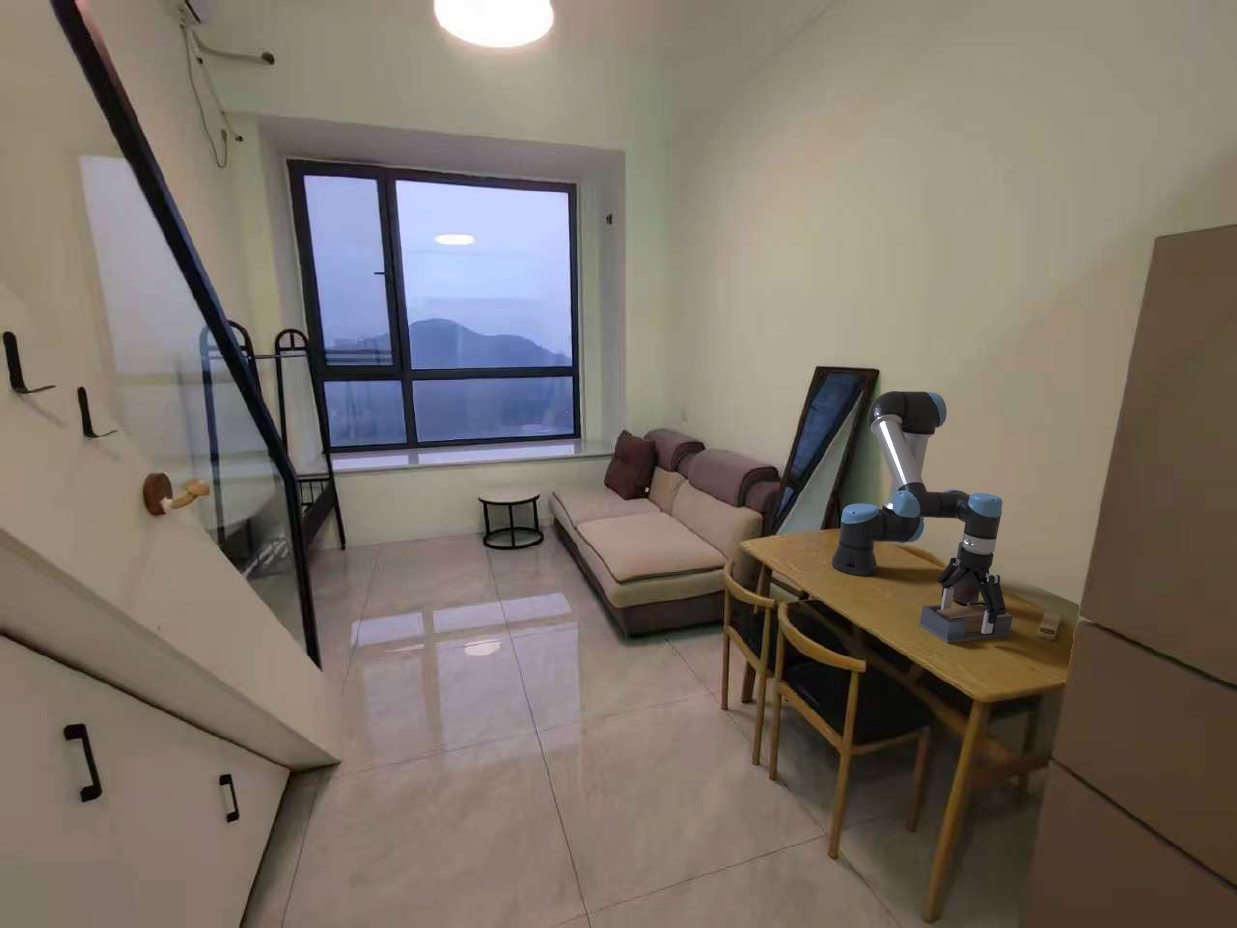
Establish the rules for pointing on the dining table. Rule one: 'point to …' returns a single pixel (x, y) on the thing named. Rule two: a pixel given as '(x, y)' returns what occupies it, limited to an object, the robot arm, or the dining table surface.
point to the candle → (964, 587)
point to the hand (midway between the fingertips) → (965, 620)
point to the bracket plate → (961, 625)
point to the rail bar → (966, 616)
